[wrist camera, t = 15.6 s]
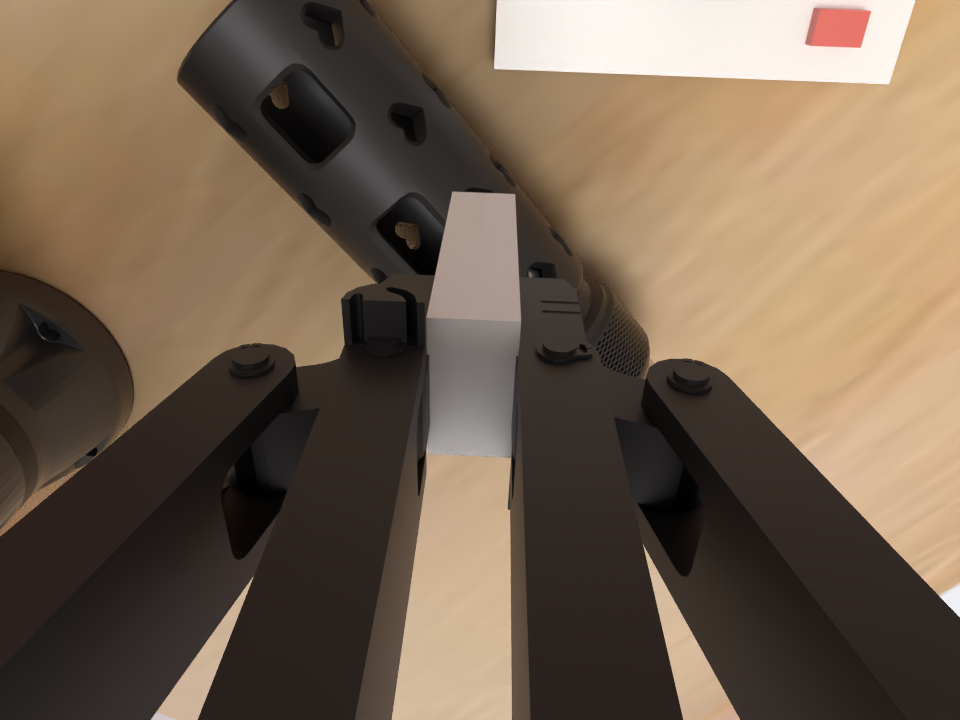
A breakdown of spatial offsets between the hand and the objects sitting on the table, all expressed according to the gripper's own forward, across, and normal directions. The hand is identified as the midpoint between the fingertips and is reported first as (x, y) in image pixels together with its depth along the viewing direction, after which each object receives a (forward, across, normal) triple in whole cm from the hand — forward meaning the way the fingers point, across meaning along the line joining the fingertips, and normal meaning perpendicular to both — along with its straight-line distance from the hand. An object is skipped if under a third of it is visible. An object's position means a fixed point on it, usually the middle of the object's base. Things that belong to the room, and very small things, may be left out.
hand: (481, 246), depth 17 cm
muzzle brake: (+25, +2, +7) cm, 26 cm away
